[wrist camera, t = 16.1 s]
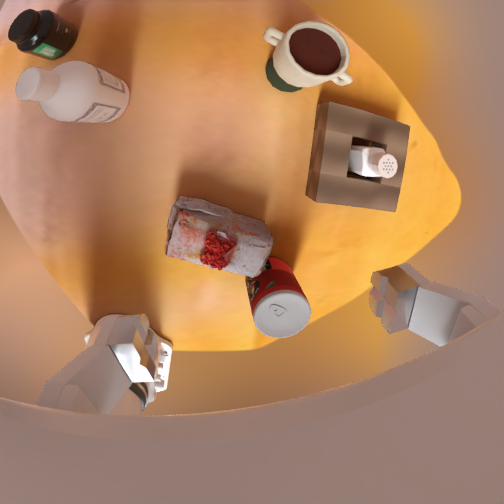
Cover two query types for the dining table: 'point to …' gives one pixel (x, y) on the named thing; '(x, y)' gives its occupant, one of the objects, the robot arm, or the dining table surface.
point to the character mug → (307, 56)
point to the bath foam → (75, 92)
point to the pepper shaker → (371, 162)
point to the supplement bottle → (42, 34)
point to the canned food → (277, 300)
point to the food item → (217, 237)
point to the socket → (338, 153)
